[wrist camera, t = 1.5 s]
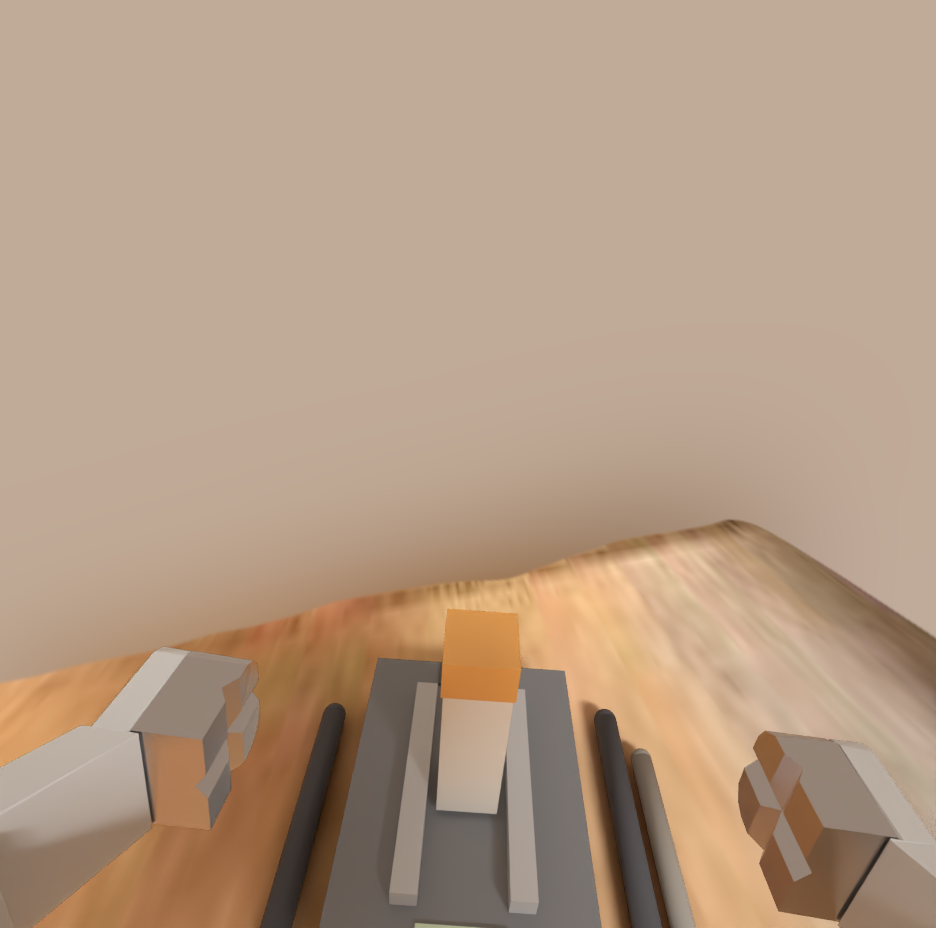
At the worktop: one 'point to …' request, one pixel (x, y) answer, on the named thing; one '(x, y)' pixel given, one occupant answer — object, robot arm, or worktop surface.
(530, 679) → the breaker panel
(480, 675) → the lever
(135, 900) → the worktop surface
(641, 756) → the cords
